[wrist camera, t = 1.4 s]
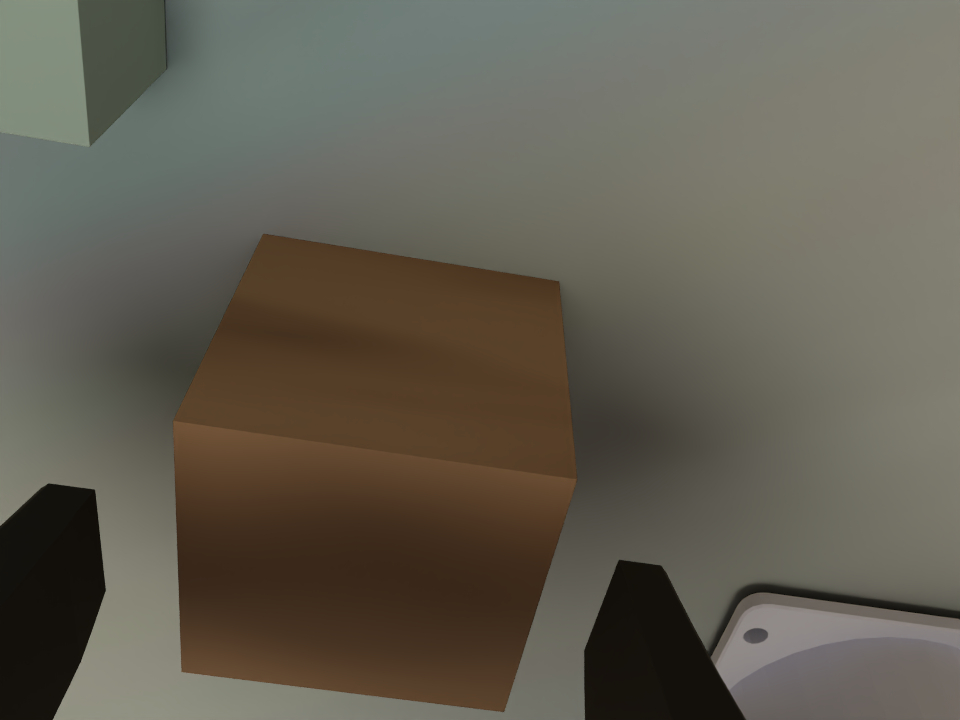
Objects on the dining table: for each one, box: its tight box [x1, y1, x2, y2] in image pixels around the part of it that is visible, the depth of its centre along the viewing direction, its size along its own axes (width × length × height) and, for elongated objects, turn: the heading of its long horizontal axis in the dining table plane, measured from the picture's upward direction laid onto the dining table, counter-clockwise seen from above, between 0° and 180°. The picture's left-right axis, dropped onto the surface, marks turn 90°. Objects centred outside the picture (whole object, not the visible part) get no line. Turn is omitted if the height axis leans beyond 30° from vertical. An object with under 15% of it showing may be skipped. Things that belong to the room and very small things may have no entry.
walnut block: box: [173, 234, 577, 712], centre depth 15 cm, size 5×5×5 cm
